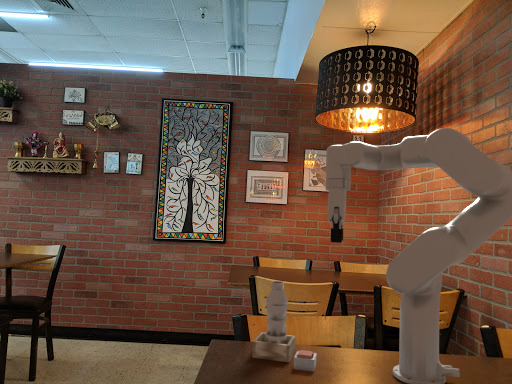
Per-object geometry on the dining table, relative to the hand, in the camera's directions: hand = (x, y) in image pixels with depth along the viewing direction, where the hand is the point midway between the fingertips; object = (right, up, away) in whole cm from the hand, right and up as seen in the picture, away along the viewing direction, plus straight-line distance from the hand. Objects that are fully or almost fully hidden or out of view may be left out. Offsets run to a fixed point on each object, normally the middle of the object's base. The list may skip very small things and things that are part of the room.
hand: (337, 241), depth 123 cm
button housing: (-11, -32, -14) cm, 37 cm away
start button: (-11, -32, -14) cm, 36 cm away
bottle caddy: (-19, -32, -5) cm, 38 cm away
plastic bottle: (-19, -32, -4) cm, 37 cm away
